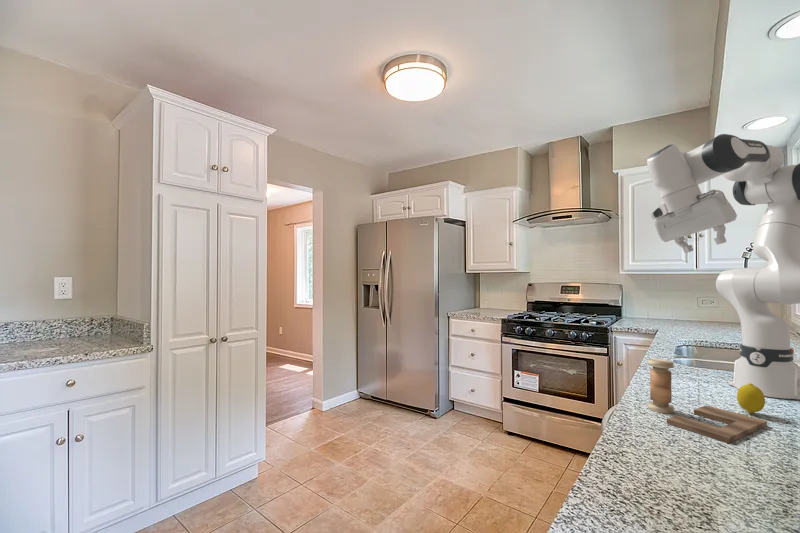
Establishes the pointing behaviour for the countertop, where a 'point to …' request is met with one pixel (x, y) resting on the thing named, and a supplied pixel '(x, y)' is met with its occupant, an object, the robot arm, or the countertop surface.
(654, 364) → the bobbin
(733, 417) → the notched board
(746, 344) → the robot arm
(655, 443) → the countertop surface
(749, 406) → the lemon
